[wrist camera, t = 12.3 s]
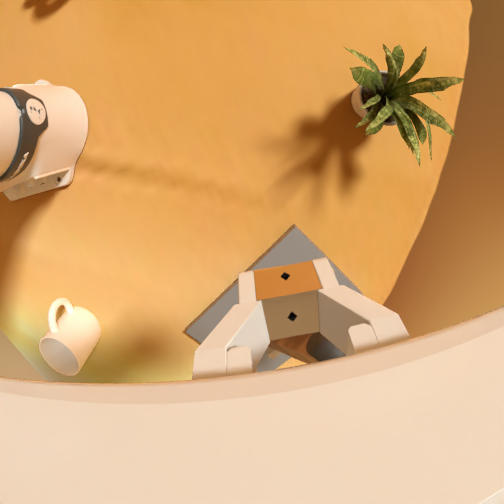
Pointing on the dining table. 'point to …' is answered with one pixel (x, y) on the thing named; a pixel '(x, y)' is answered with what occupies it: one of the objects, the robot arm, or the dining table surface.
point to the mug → (69, 338)
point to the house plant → (397, 98)
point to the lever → (307, 347)
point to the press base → (279, 254)
